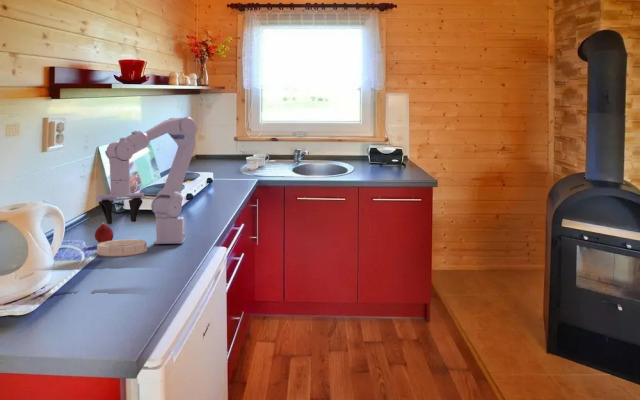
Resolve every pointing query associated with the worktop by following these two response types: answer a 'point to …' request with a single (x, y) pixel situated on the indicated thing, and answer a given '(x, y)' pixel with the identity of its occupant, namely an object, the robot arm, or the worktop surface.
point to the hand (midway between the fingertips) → (121, 222)
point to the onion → (104, 233)
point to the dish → (121, 247)
